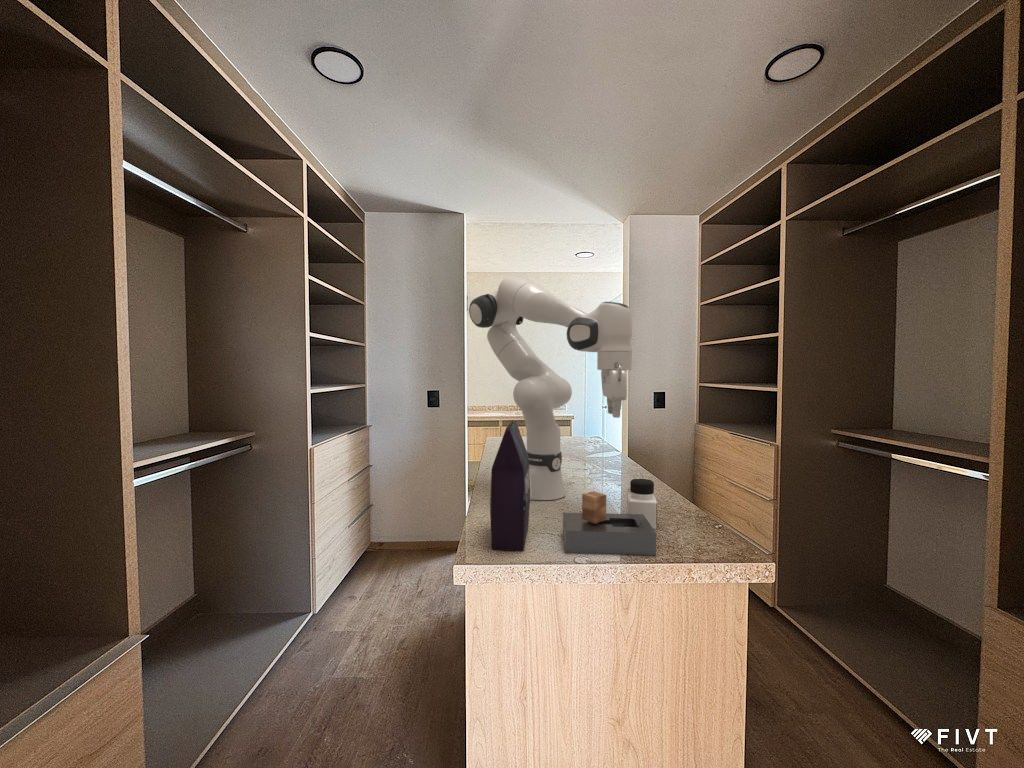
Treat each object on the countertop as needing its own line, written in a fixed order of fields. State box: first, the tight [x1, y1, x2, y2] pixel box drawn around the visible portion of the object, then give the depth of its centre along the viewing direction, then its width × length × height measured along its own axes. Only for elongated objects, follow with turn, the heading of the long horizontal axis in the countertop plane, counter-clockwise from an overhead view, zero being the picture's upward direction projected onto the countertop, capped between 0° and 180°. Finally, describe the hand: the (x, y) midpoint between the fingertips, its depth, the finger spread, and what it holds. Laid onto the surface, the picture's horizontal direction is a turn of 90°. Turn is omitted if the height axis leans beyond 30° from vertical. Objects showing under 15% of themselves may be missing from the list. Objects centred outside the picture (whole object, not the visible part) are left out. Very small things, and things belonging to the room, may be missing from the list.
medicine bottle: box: [626, 477, 658, 530], centre depth 120 cm, size 7×7×12 cm
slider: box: [581, 490, 607, 524], centre depth 107 cm, size 4×4×12 cm
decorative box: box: [489, 420, 531, 552], centre depth 110 cm, size 8×16×28 cm, turn 174°
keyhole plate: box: [562, 511, 657, 556], centre depth 107 cm, size 20×13×5 cm, turn 86°
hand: (613, 415), depth 119 cm, fingers open, 8 cm apart
